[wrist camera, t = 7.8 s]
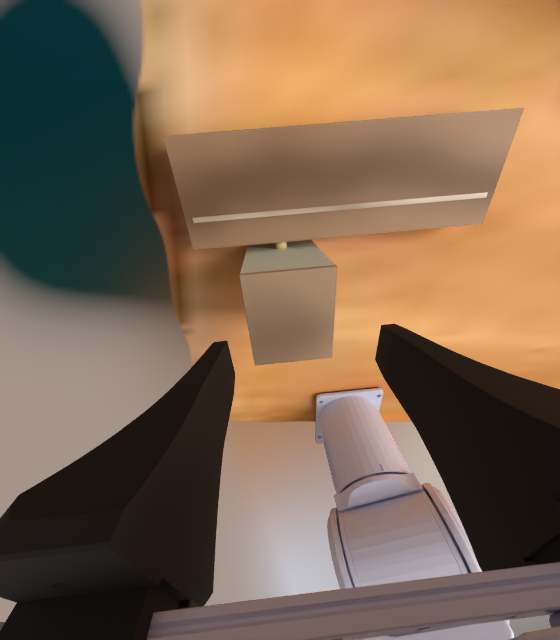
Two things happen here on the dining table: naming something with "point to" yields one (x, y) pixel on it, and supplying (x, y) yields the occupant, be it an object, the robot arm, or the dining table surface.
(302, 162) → the tan rectangular bar
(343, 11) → the dining table surface
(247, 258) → the block
